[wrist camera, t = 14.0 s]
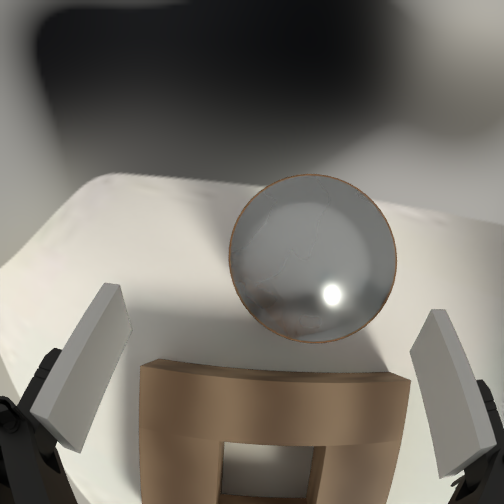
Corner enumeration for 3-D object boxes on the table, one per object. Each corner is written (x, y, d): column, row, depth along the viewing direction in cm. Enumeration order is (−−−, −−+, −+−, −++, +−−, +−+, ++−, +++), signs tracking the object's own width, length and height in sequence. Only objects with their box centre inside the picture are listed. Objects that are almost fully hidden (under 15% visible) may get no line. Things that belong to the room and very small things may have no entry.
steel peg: (317, 260, 24) (393, 183, 10) (314, 328, 23) (394, 344, 9) (250, 256, 25) (236, 168, 10) (245, 324, 24) (221, 337, 9)
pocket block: (389, 371, 22) (410, 380, 19) (358, 529, 19) (369, 552, 15) (158, 358, 23) (140, 365, 19) (158, 519, 20) (145, 542, 16)
